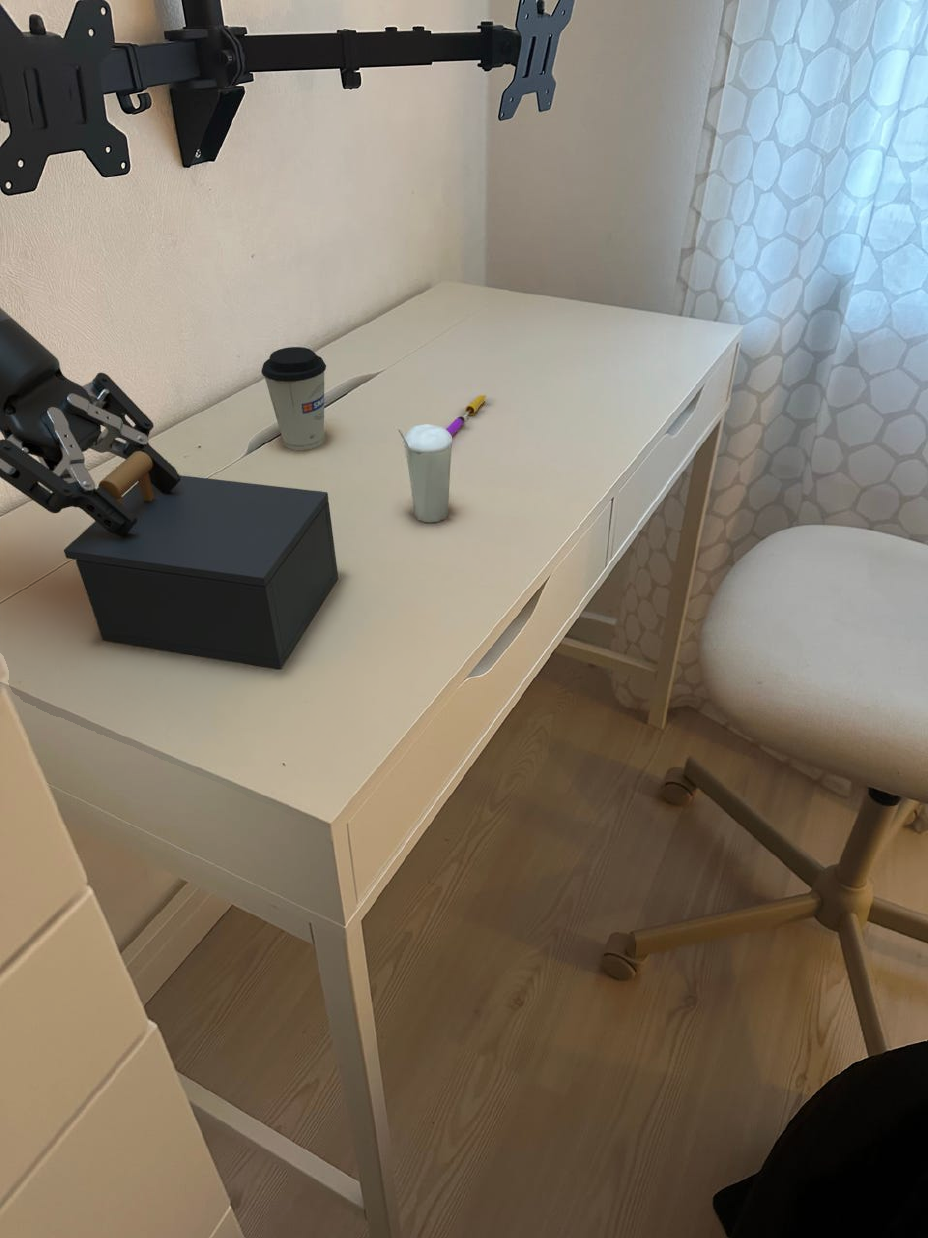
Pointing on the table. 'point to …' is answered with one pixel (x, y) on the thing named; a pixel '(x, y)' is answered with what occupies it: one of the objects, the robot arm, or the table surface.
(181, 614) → the black open box
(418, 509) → the milkshake
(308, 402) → the coffee cup
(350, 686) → the table surface
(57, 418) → the robot arm
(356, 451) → the table surface
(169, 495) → the lid
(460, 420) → the purple yellow rod
